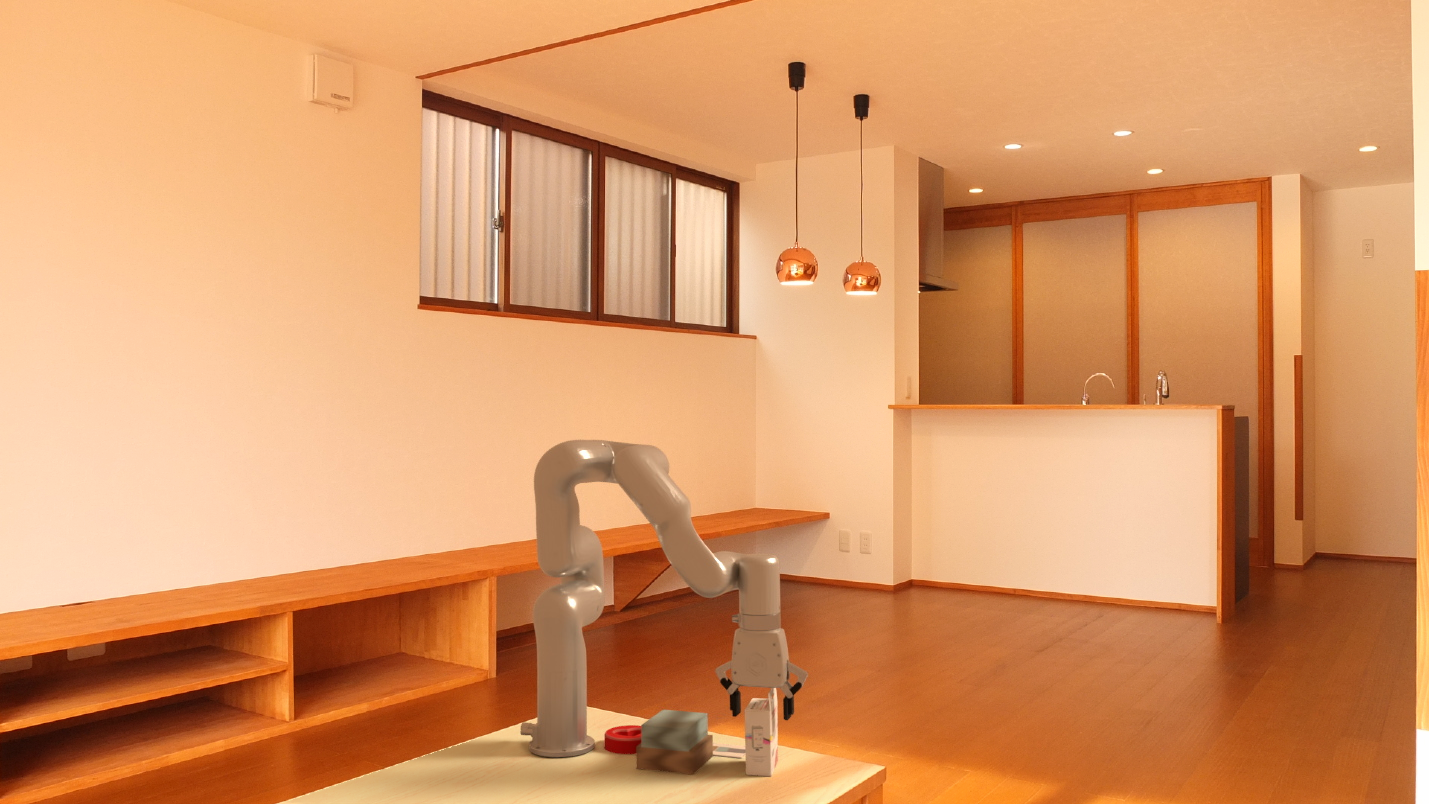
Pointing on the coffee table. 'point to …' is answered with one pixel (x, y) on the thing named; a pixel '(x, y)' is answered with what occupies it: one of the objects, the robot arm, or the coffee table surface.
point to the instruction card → (728, 750)
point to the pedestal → (675, 742)
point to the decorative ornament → (623, 739)
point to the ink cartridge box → (761, 735)
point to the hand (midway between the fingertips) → (761, 716)
